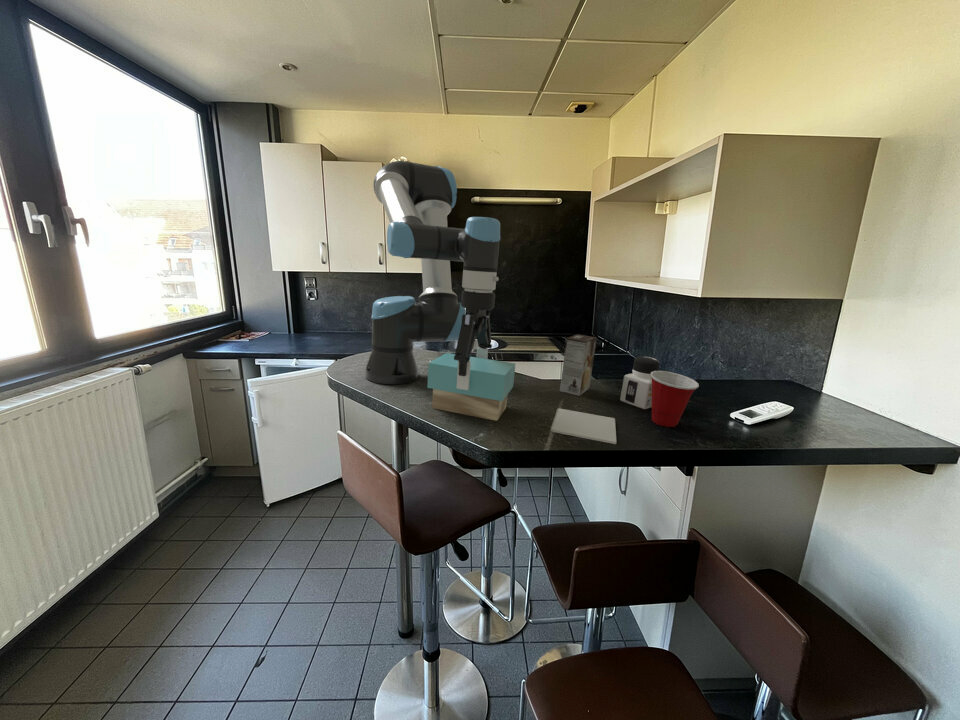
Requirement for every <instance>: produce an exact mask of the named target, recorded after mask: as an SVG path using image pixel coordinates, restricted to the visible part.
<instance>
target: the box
mask: <svg viewBox="0 0 960 720" xmlns="http://www.w3.org/2000/svg"><path fill="white" fill-rule="evenodd" d="M508 394H509V393H508ZM508 394H507V396H506V397H505V398H504V400H503V401H498V400H492V399H487V398H481V397H476V396H470V395H465V394H459V393H454V392H448V391H442V390H437V389H432V402H431V406H432V407H431V408H432V409H434V410H439V411H440V410H441V411H445V412H451V413H456V414H459V415H460V414H462V415H466V416H471V417H475V418H481V419H485V420H492V421H495V422H496V421H498V420H499V419H500V417H501V416H502V414H503V413H504V411H505V410H506V408H507V406H508V405H507V402H508Z"/></svg>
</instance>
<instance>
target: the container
mask: <svg viewBox="0 0 960 720" xmlns="http://www.w3.org/2000/svg"><path fill="white" fill-rule="evenodd" d="M660 364H661V362H660V361H659V360H658V359H656V358H653V357H649V356H637V357H635V358H634V360H633V366H632V370H631V371H632V373H628V374H625V375H624V376H623V379H622V380H623V381H622V388H621V393H620V396H619V397H620V398H619V400H620V402H623V403H625V404H629V405H631V406H633V407H637V408H640V409H642V410H647V409H650V408H651V405H652V378H651V372H653V371H660V370H659V369H660Z"/></svg>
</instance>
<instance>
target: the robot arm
mask: <svg viewBox="0 0 960 720" xmlns="http://www.w3.org/2000/svg"><path fill="white" fill-rule="evenodd" d="M373 191H374V194H375V197H376V199H377V200H378V202H379V203H381V204H382V205H383V208H384V211H385V214H386V216H387V218H388V221H389V223H388V226H387V229H386V230H387V231H386V246H387V251H388V253H389V255H391V256H392V257H398V258H403V259H420V262H421V273H422V274H421V277H422V291H423V292H422V293H421V294H420V295H419V296H418V301H416V300H415V297H413V296H411V295H404V296H403V295H397V296H395V295H394V296H386V297H382V298H379V299H376V300H375V301H374V302H373V303H372V308H371V309H372V311H371V317H370V318H371V352H370V355H369V358H368V361H367V364H366V367H365V374H364V375H365V379H366V380H368V381H371V382H373V383H377V384H381V385H402V384H407V383H412V382H414V381H416V380H417V379H418V378H419V369H418V365H417V362H416V358H415V355H414V343H430V342H434V343H435V342H442V343H446V342H454V341H456V340H457V344H456V348H455V352H454V354H455V356H454V360H458V371H457V387H456V388H457V389H463V390H469V383H470V368H471V361H469V360H470V357H472V352H473V349H474V346H475V341H476V340H477V345H478V346H477V348H476V355H475V357H476V358H483V359H488V355H489V354H488V353H489V349H492V347H493V344H492V337H491V336H492V335H491V334H492V332H491V331H492V330H491V317H490V316H491V311H492V310H493V309H494V308H495V302H496V301H495V300H496V294H495V292H493V291H495V290H496V288H497V287H496V285H497V282H498V281H499V280H500V279H499V276H497V274H498V273H497V272H498V264H499V253H500V242H501V222H500V221H499V220H498V219H497V218H493V217H487V216H485V217H484V216H471V217H468V218H467V219H466V223H465V227H464V228H459V227H458V228H457V227H448V215H450V213H451V212H452V209H453V208H454V207H455V206H456V203H457V198H458V197H457V193H458V187H457V181H456V176H455V175H454V173H453V172H452V171H451V170H450V169H448V168H444V167H441V166H439V165H431V164H430V165H428V164H422V163H419V162H418V163H417V162H413V161H407V160H396V161H395V160H394V161H392V162H391V161H390V162H389V163H387V164H385V165H383V166H382V167H381V168H380V169H379V170H378V171H377V173H376V174H375V176H374V180H373ZM451 261H453V262H459V263H460V262H462V263H463V267H462V269H463V271H462V281H461V283H462V284H461V287H462V288H463V290H462V291H461V299H460V300H461V301H460V302H458V301H459V300H458V295H457V294H456V293H455V291H453V289H452V275H451V274H452V273H451ZM466 309H468V311H467V312H466ZM466 313H467V314H466Z"/></svg>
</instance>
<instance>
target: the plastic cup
mask: <svg viewBox="0 0 960 720" xmlns="http://www.w3.org/2000/svg"><path fill="white" fill-rule="evenodd" d="M651 378H652V405H651V407H650V408H651V422H652V421H653V422H654V423H653V422H652V423H653V424H655V423H656V424H655V425H657V424H658V425H657V426H659V425H661V426H660V427H662V426H666V427H665V428H667V427H674V426H676V425H677V426H678V424H679V423H680V420H681V417H682V415H683V414H684V411H685V410H686V407H687V405H688V403H689V401H690V399H691V397H692V395H693V393H694V392H695V391H696V389H698V388H700V387H699V386H700V385H699V383H698V382H697V381H696V380H695V379H693V378H691V377H688V376H686V375H683V374H680V373H676V372H671V371H666V370H659V371H653V372H651ZM677 426H676V427H677ZM674 428H675V427H674Z"/></svg>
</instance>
